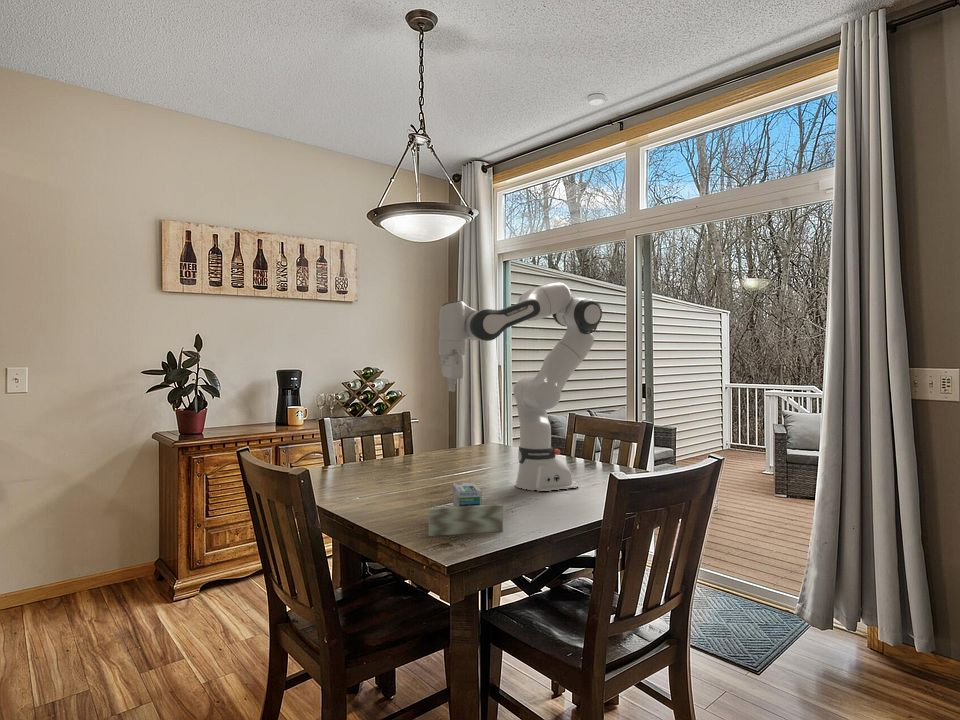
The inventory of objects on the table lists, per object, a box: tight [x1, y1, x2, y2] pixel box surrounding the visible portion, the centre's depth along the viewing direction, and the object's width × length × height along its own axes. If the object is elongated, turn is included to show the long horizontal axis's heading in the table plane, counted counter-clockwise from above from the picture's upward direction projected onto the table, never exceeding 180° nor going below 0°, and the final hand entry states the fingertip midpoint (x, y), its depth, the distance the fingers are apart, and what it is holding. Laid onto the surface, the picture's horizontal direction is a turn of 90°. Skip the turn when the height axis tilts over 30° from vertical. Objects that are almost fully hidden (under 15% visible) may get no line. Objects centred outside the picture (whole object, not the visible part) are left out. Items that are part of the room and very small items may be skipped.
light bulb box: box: [452, 481, 483, 507], centre depth 163 cm, size 11×7×11 cm, turn 12°
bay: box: [428, 503, 504, 537], centre depth 162 cm, size 20×14×7 cm
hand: (451, 391), depth 193 cm, fingers closed
